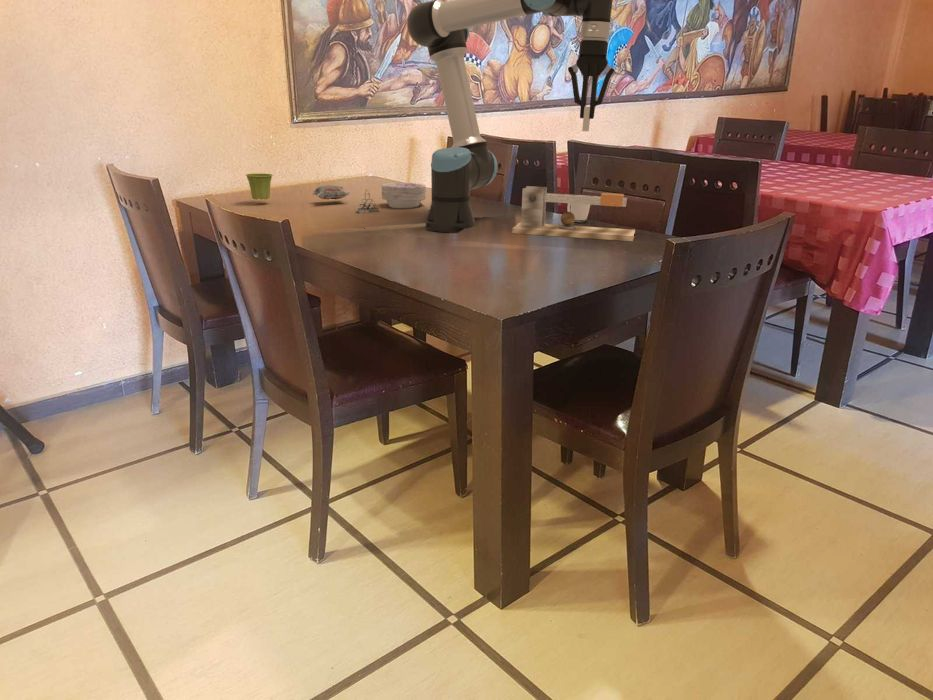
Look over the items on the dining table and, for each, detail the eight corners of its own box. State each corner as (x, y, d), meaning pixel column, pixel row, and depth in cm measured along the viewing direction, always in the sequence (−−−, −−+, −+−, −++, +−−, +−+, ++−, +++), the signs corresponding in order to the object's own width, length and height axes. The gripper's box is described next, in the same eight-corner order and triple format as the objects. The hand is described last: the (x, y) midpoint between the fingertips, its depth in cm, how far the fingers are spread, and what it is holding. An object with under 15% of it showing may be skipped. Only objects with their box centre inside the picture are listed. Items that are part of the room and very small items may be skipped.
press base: (512, 233, 200) (514, 189, 195) (519, 227, 209) (521, 185, 204) (632, 241, 191) (637, 195, 187) (634, 234, 200) (639, 191, 196)
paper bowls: (419, 203, 250) (419, 181, 248) (430, 210, 237) (430, 186, 234) (378, 205, 246) (377, 182, 243) (387, 211, 232) (386, 187, 230)
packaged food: (349, 200, 252) (349, 186, 251) (317, 201, 248) (316, 187, 246) (343, 197, 260) (343, 184, 258) (312, 198, 255) (311, 185, 254)
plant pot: (265, 196, 261) (263, 172, 258) (279, 198, 256) (277, 174, 253) (242, 198, 255) (240, 174, 252) (257, 201, 249) (255, 176, 246)
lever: (527, 202, 198) (528, 190, 197) (530, 200, 202) (531, 188, 201) (625, 208, 192) (626, 196, 190) (626, 206, 195) (627, 194, 194)
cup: (576, 224, 214) (578, 198, 211) (558, 219, 223) (559, 194, 220) (594, 223, 217) (596, 197, 214) (576, 218, 225) (578, 193, 223)
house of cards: (379, 209, 239) (379, 186, 236) (384, 213, 231) (384, 189, 229) (353, 209, 237) (352, 187, 234) (357, 214, 229) (356, 190, 226)
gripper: (568, 38, 186) (560, 130, 194) (617, 39, 182) (607, 133, 191) (572, 40, 192) (564, 129, 201) (619, 41, 189) (610, 131, 198)
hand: (585, 130), depth 196 cm, fingers closed
